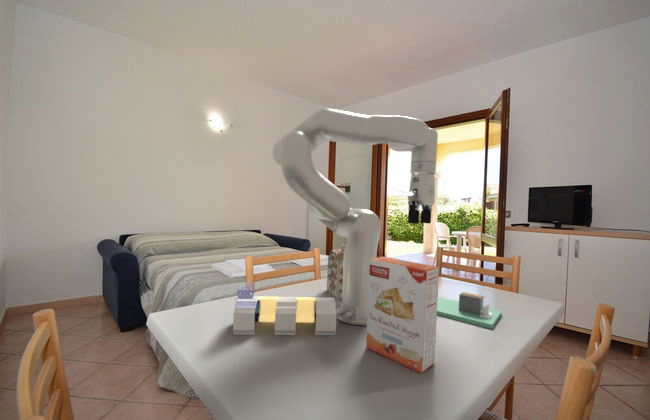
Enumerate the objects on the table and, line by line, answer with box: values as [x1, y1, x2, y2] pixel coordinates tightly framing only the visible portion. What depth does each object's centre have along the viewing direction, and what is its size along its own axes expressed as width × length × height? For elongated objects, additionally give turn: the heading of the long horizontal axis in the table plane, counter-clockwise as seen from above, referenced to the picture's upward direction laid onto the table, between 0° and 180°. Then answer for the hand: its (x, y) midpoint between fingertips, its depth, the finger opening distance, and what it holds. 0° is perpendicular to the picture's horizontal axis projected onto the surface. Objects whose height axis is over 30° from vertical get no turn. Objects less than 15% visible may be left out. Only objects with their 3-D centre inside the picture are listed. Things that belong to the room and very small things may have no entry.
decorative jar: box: [326, 244, 346, 300], centre depth 111 cm, size 12×12×18 cm
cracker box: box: [365, 256, 440, 374], centre depth 66 cm, size 14×6×21 cm, turn 45°
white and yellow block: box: [232, 282, 337, 336], centre depth 79 cm, size 25×10×13 cm, turn 94°
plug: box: [458, 291, 484, 315], centre depth 94 cm, size 4×6×5 cm, turn 51°
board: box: [437, 297, 502, 330], centre depth 95 cm, size 15×19×4 cm
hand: (419, 223), depth 95 cm, fingers open, 9 cm apart
